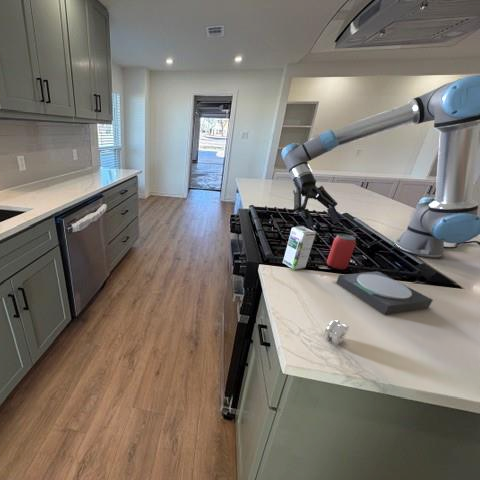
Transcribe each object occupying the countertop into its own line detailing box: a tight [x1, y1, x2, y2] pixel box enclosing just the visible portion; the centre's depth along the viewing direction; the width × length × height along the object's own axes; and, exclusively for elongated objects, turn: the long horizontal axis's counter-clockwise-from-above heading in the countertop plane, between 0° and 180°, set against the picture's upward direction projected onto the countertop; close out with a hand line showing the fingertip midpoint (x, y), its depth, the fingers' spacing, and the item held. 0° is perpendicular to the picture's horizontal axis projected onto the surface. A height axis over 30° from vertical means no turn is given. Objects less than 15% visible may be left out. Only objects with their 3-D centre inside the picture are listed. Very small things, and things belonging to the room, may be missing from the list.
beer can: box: [326, 233, 357, 270], centre depth 93 cm, size 7×7×12 cm
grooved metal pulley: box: [323, 319, 350, 345], centre depth 60 cm, size 5×3×5 cm, turn 122°
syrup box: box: [282, 226, 317, 271], centre depth 92 cm, size 6×6×14 cm
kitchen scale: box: [336, 271, 434, 316], centre depth 78 cm, size 16×16×4 cm
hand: (324, 224), depth 98 cm, fingers open, 13 cm apart
